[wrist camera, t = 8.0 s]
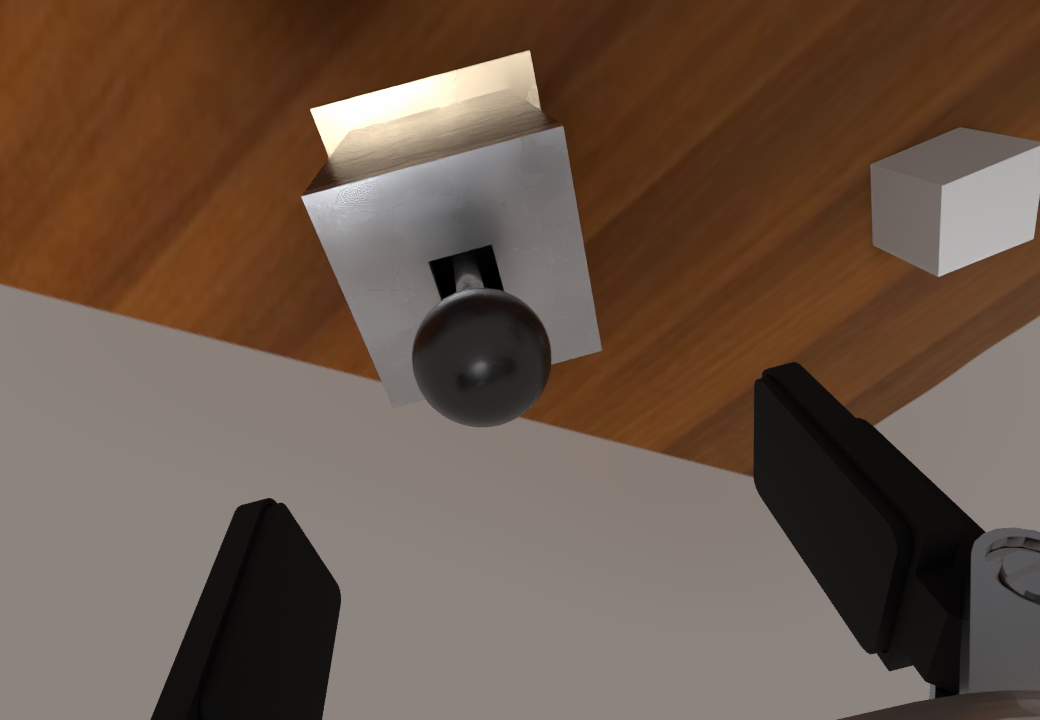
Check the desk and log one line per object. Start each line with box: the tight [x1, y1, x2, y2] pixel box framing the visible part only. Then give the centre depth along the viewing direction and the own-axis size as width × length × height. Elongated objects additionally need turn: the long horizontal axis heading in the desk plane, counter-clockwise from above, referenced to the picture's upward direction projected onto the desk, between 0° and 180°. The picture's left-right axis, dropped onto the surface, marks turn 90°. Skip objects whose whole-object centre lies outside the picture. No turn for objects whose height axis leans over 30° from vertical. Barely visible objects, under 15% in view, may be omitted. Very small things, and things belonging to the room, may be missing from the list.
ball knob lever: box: [412, 244, 551, 427], centre depth 22 cm, size 6×6×17 cm
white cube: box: [870, 127, 1040, 277], centre depth 35 cm, size 6×6×6 cm
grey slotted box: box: [301, 50, 602, 408], centre depth 27 cm, size 12×13×14 cm
